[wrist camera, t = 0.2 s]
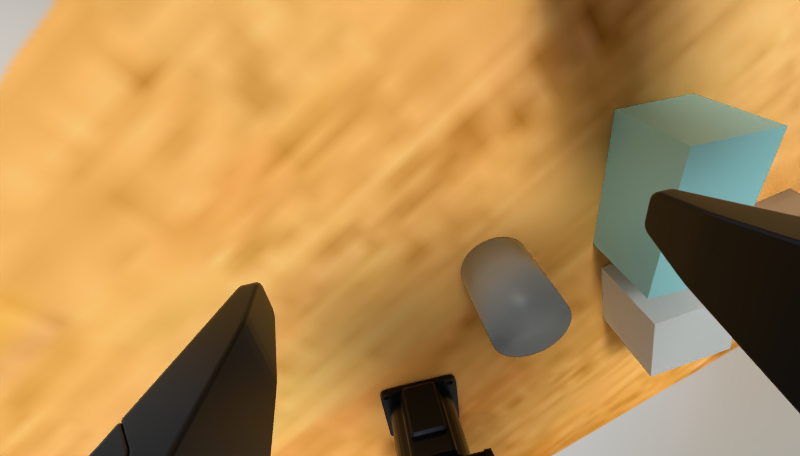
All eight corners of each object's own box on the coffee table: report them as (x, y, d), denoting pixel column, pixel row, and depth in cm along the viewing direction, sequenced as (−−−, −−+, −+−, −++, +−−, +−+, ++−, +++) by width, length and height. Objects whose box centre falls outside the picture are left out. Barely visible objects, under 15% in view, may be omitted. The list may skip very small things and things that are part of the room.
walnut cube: (779, 236, 33) (845, 275, 29) (719, 262, 33) (776, 304, 29) (788, 187, 30) (863, 223, 26) (723, 216, 31) (786, 255, 26)
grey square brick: (670, 293, 34) (729, 348, 29) (602, 317, 35) (650, 376, 30) (675, 239, 31) (744, 292, 26) (600, 267, 31) (654, 324, 26)
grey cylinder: (526, 284, 31) (567, 346, 26) (462, 299, 30) (491, 364, 25) (529, 230, 28) (575, 288, 23) (458, 246, 28) (490, 308, 23)
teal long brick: (656, 228, 30) (723, 280, 25) (592, 242, 30) (647, 298, 25) (691, 92, 24) (787, 125, 20) (613, 108, 24) (690, 146, 19)
